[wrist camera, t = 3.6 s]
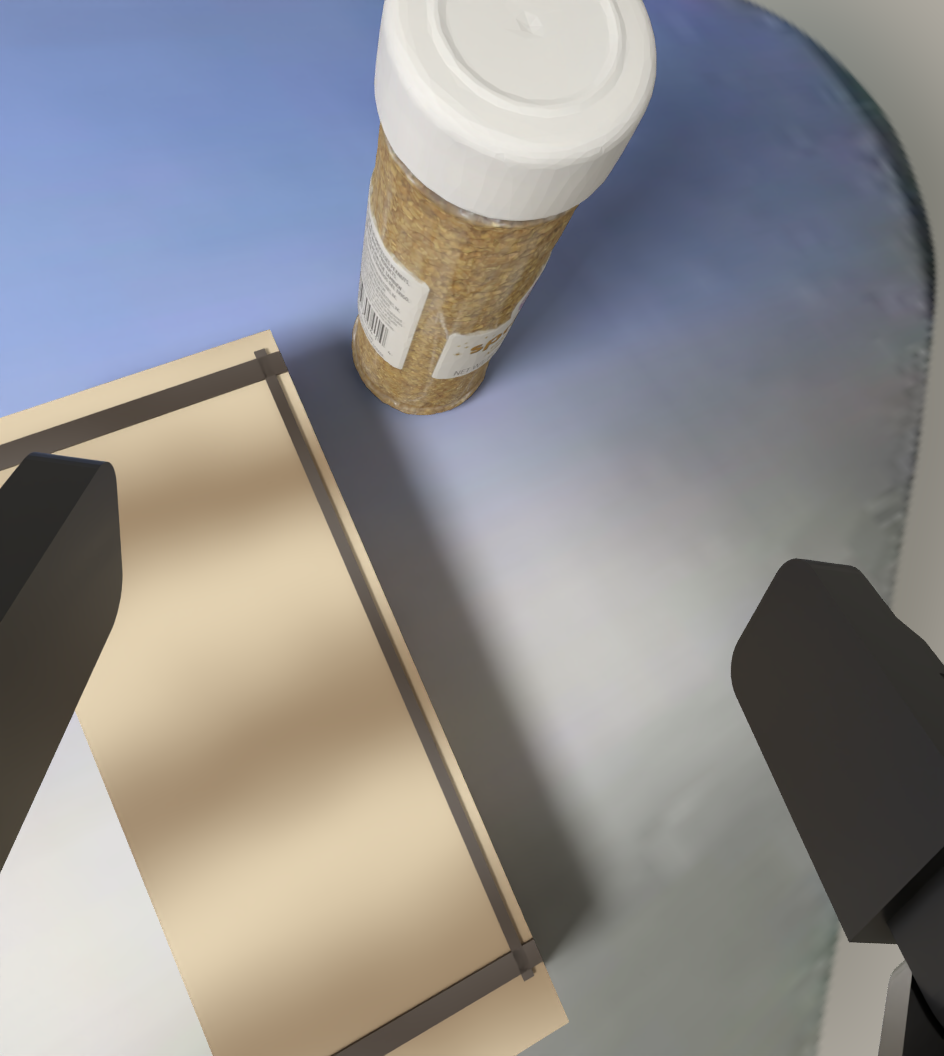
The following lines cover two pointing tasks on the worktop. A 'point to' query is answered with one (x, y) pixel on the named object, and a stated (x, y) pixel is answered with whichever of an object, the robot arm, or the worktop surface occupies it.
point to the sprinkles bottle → (483, 173)
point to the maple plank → (282, 736)
